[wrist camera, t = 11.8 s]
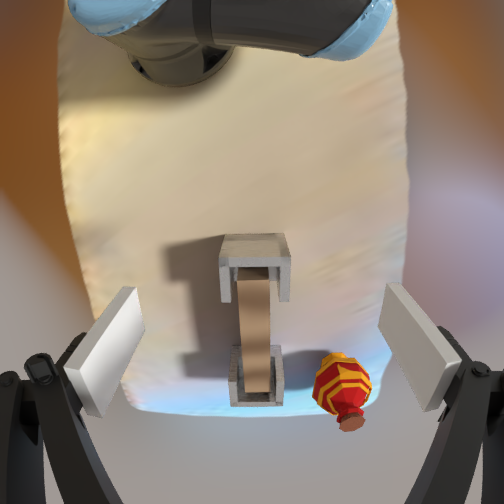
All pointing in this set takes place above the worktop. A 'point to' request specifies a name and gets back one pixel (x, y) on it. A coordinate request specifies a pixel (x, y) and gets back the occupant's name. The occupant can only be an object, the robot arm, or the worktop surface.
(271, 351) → the bracket
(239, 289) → the rail
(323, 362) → the potion bottle
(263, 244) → the bracket
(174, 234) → the worktop surface
